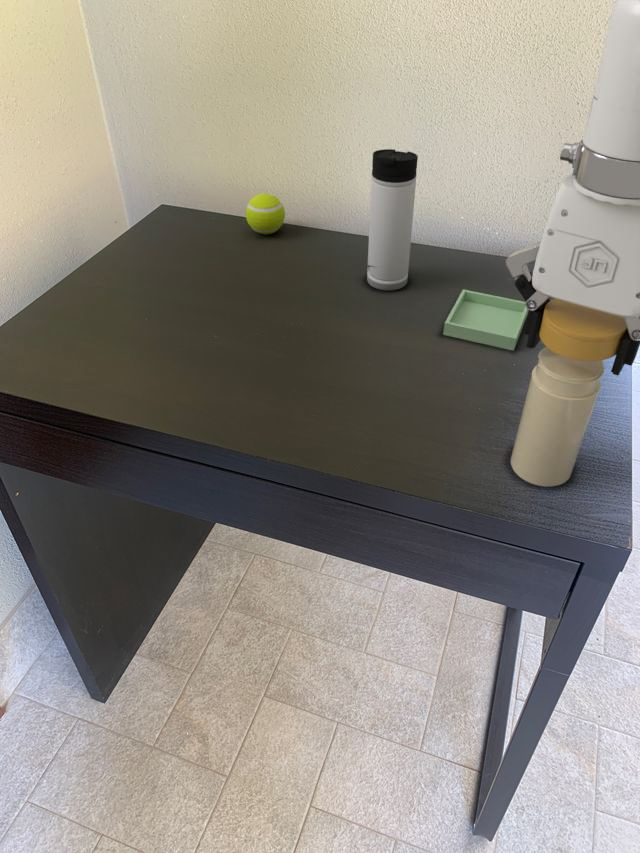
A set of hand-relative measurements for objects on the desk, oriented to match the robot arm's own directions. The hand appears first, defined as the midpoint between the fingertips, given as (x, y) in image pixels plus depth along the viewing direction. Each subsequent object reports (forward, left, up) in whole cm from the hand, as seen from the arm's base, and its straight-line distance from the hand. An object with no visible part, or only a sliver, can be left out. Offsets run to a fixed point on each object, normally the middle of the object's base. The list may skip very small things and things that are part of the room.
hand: (576, 353), depth 65 cm
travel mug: (+29, -32, -15) cm, 46 cm away
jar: (0, 0, -15) cm, 15 cm away
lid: (0, 0, +4) cm, 4 cm away
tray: (+12, -26, -15) cm, 32 cm away
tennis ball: (+54, -40, -15) cm, 69 cm away
